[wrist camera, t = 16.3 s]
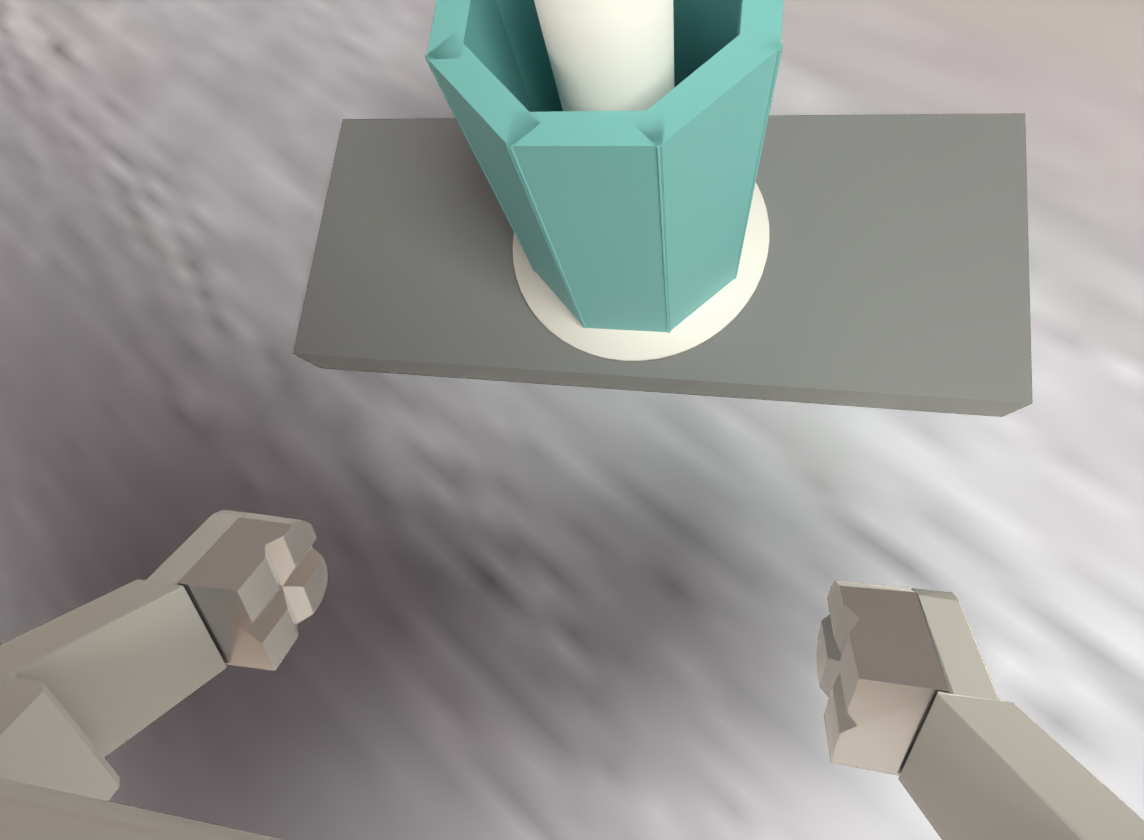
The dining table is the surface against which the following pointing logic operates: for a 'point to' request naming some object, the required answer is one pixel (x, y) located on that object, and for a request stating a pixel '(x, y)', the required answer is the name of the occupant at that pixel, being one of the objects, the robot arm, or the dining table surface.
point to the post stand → (738, 311)
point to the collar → (618, 155)
